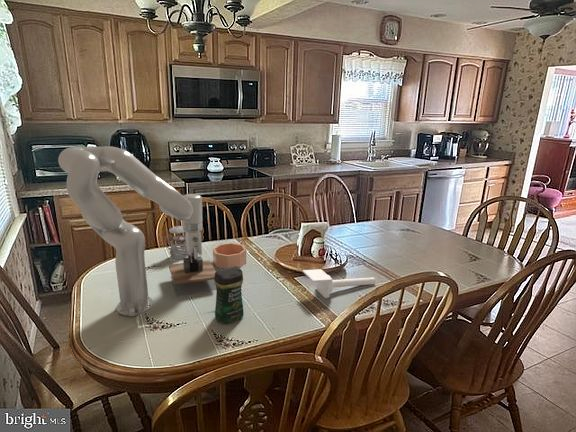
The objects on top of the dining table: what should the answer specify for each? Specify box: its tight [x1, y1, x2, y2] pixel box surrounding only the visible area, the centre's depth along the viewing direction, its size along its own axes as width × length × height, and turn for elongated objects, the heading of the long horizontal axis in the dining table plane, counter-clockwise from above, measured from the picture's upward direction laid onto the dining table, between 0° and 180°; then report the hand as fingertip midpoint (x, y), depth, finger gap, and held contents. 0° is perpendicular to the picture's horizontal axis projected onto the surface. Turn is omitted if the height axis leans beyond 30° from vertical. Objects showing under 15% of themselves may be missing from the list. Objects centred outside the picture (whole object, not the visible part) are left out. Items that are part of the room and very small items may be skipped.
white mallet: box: [302, 268, 377, 299], centre depth 154 cm, size 9×9×32 cm
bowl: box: [212, 242, 247, 269], centre depth 176 cm, size 14×14×7 cm
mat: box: [170, 275, 217, 298], centre depth 157 cm, size 18×18×1 cm
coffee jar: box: [214, 266, 245, 325], centre depth 132 cm, size 10×8×19 cm
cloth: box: [168, 255, 217, 284], centre depth 154 cm, size 17×17×6 cm
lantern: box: [163, 219, 188, 262], centre depth 178 cm, size 10×12×25 cm
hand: (193, 268), depth 155 cm, fingers closed on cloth, 3 cm apart
